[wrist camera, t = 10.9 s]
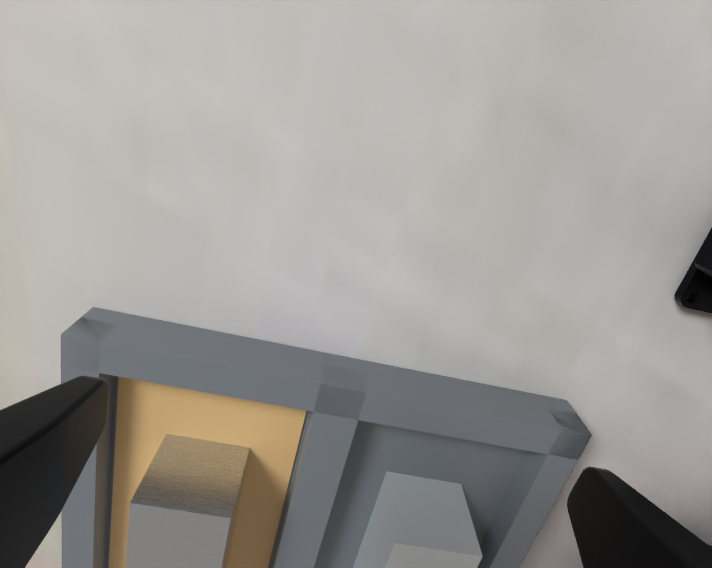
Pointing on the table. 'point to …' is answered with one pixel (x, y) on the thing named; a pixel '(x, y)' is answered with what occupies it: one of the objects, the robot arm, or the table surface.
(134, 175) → the table surface
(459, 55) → the table surface
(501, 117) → the table surface
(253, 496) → the grey divided tray
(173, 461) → the block
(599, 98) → the table surface
